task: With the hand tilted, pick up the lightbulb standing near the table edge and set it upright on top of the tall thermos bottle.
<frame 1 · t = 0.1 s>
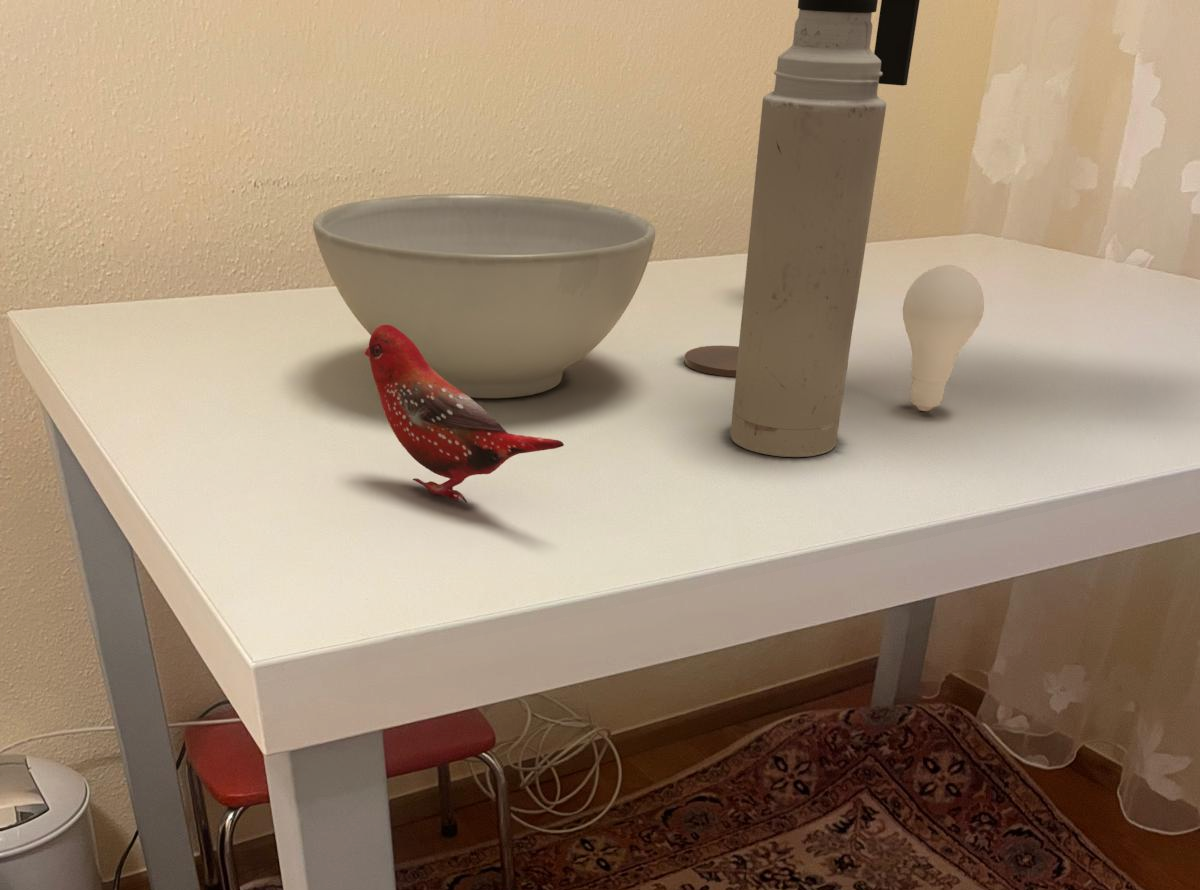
hand: (853, 89, 87), 22 cm above the table, tool pointing down, fingers open, 13 cm apart
water bottle: (800, 305, 127), on the table
walnut coaster: (728, 364, 107), on the table
thermos bottle: (782, 442, 90), on the table
decorative bowl: (489, 379, 101), on the table
lightbulb: (923, 413, 98), on the table
decorative bird figurine: (462, 507, 78), on the table
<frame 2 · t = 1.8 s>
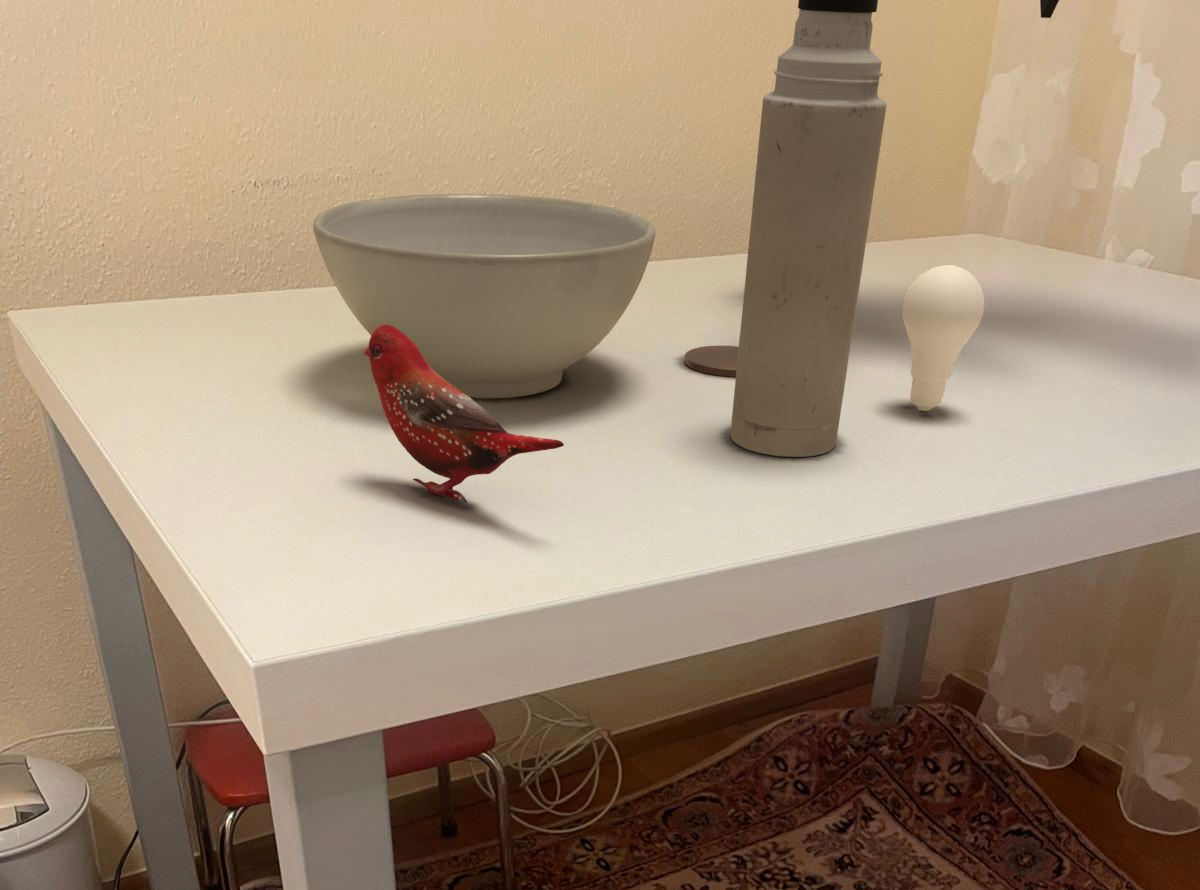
hand: (963, 0, 90), 28 cm above the table, tool tilted 45°, fingers open, 13 cm apart
nothing on the table moved.
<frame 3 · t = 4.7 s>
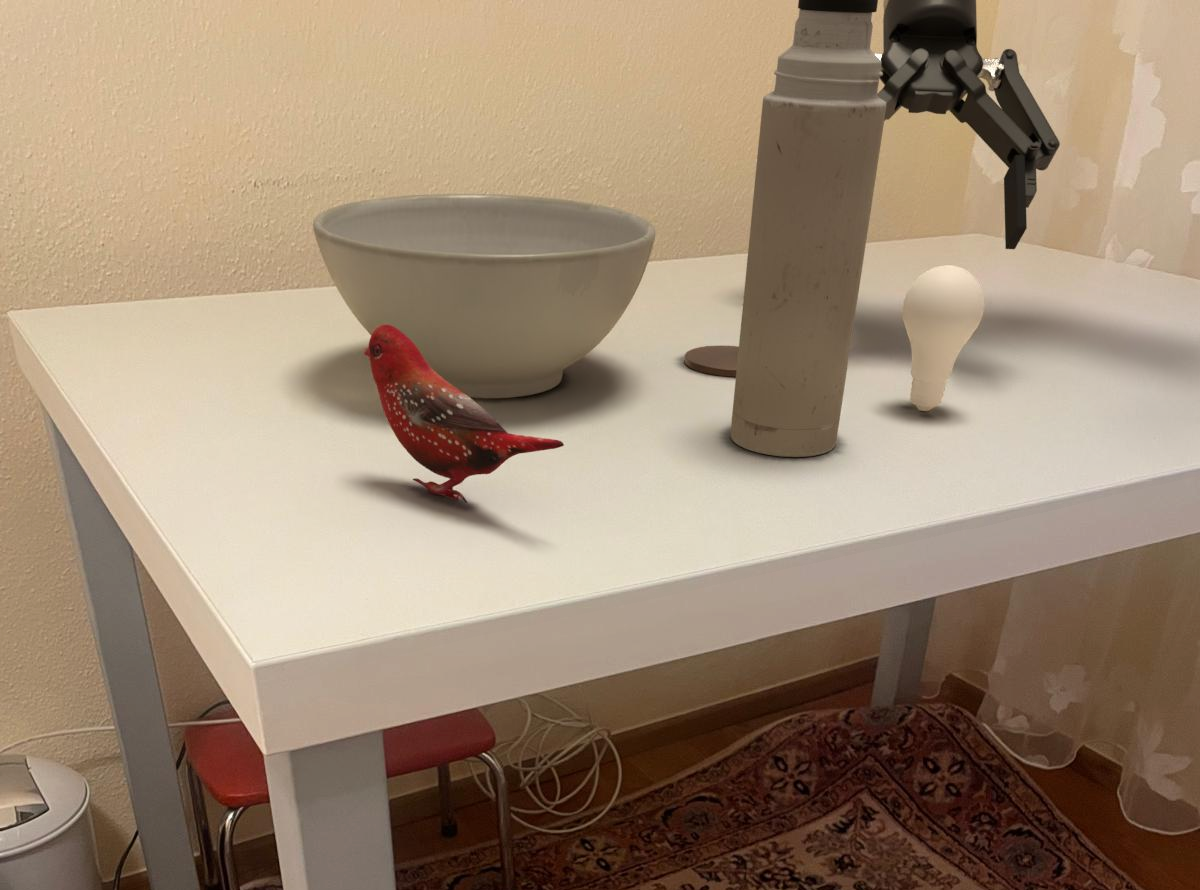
hand: (932, 235, 96), 12 cm above the table, tool tilted 45°, fingers open, 13 cm apart
nothing on the table moved.
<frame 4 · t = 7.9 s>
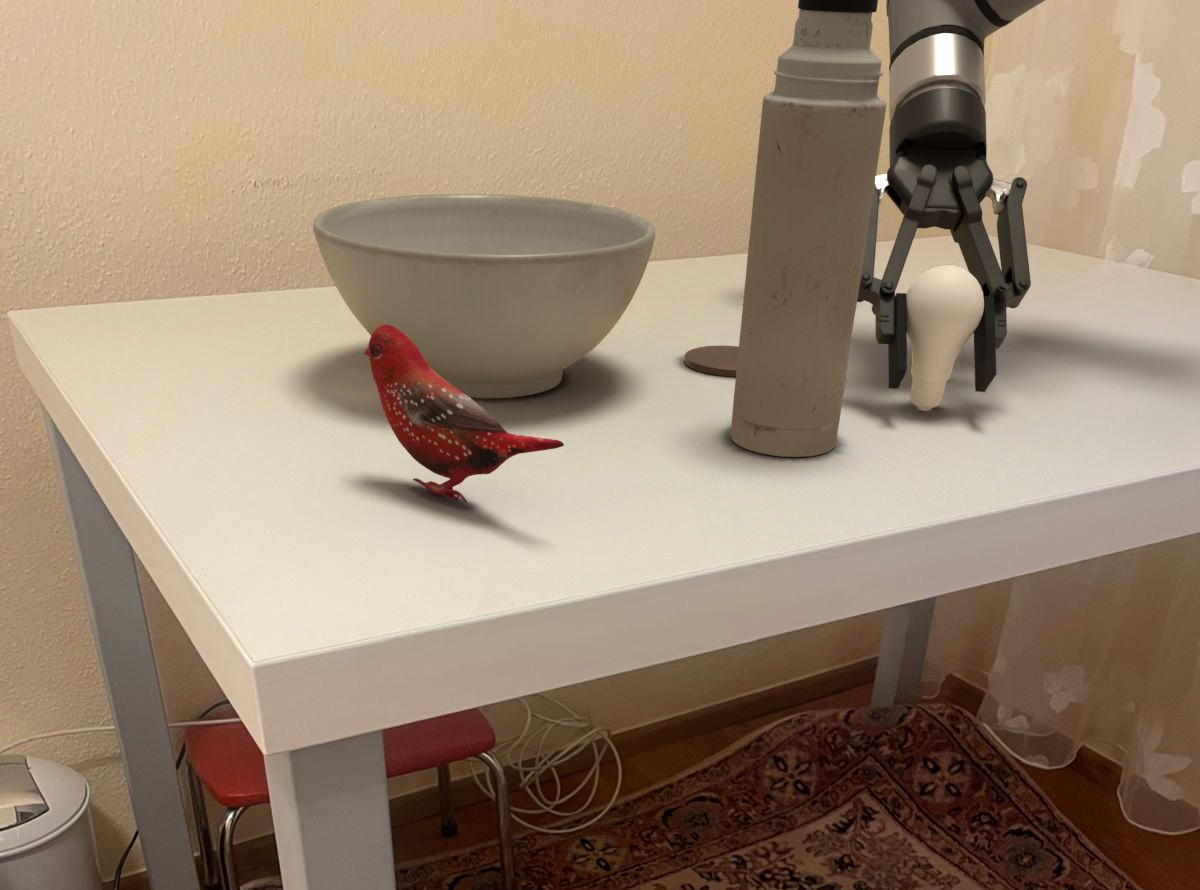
hand: (941, 380, 93), 3 cm above the table, tool tilted 45°, fingers closed on lightbulb, 6 cm apart
lightbulb: (923, 413, 98), on the table, touching gripper
everything else where it was.
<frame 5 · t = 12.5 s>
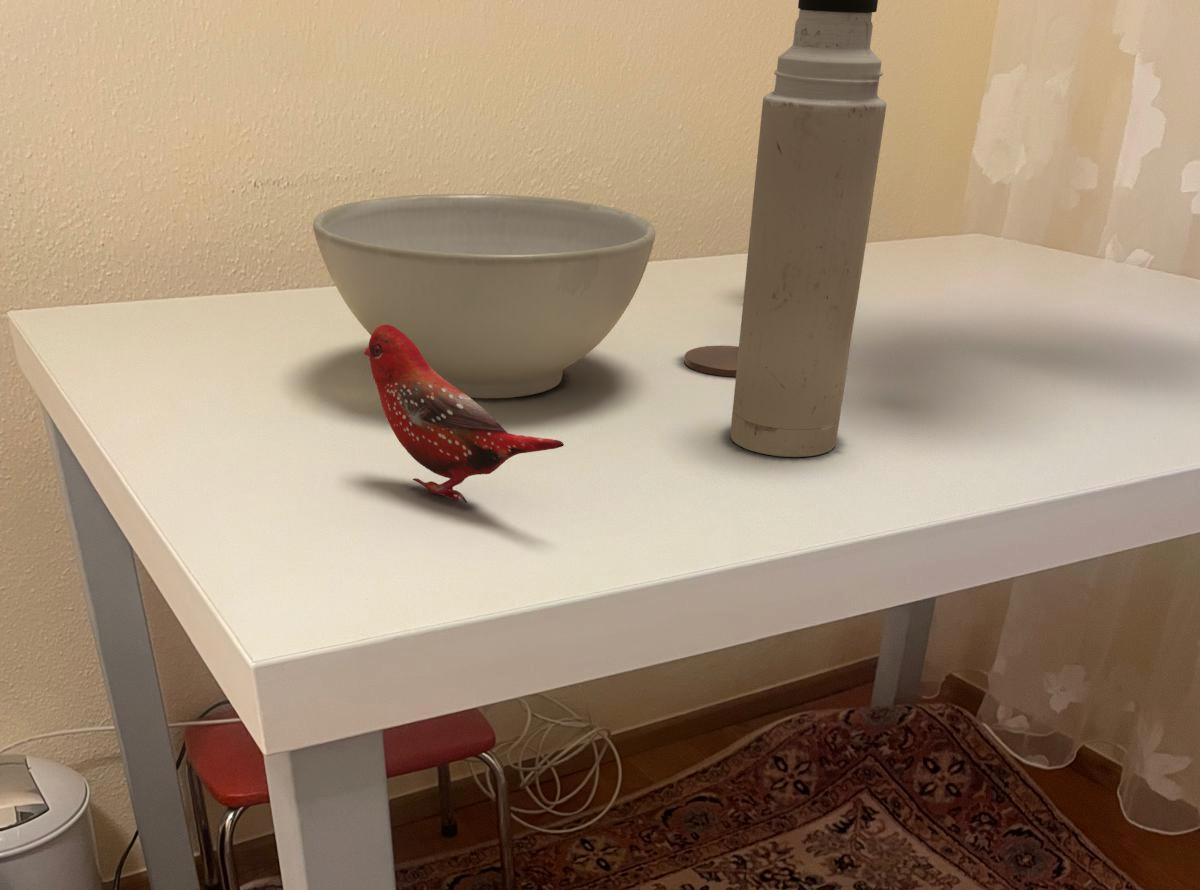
when the fingers open (31 cm above the table, at t = 17.0 s): lightbulb stays where it is, resting on thermos bottle.
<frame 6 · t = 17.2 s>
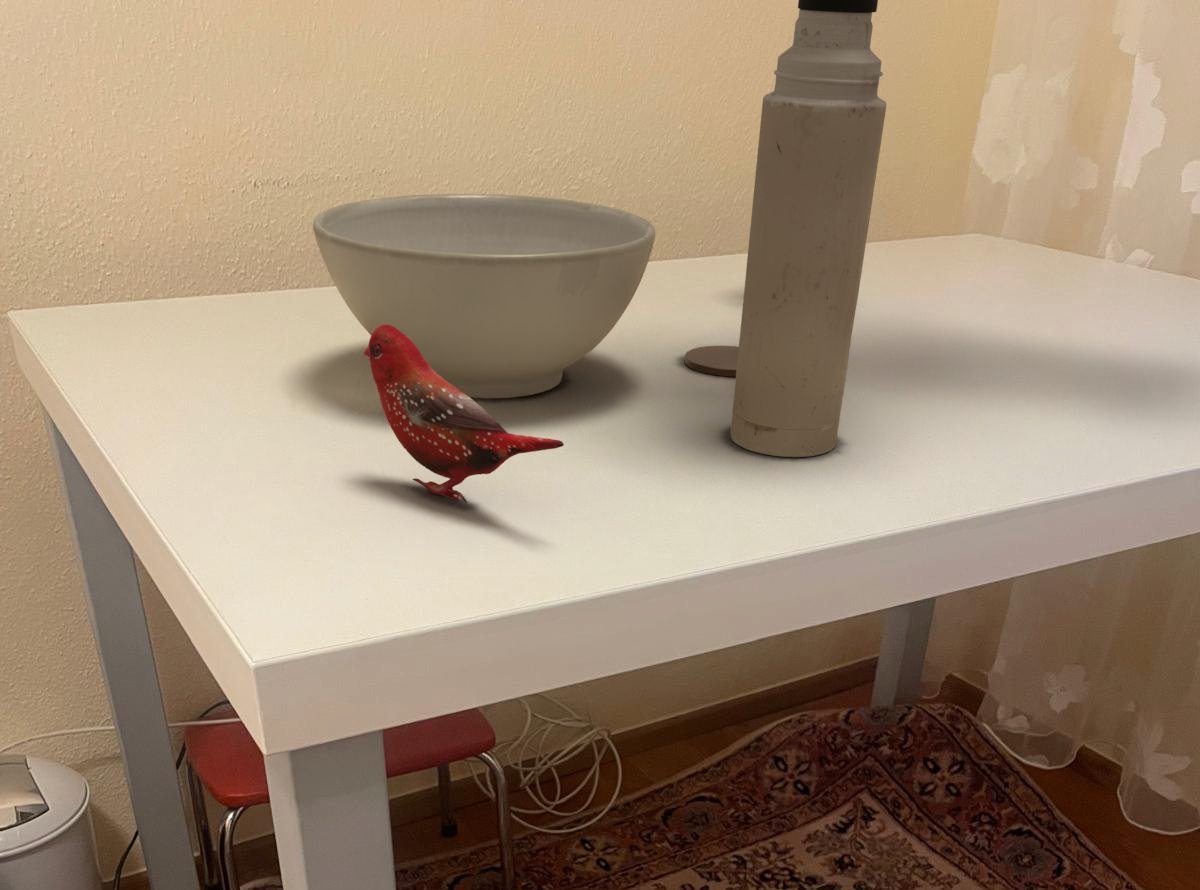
thermos bottle: (782, 442, 90), on the table, touching lightbulb
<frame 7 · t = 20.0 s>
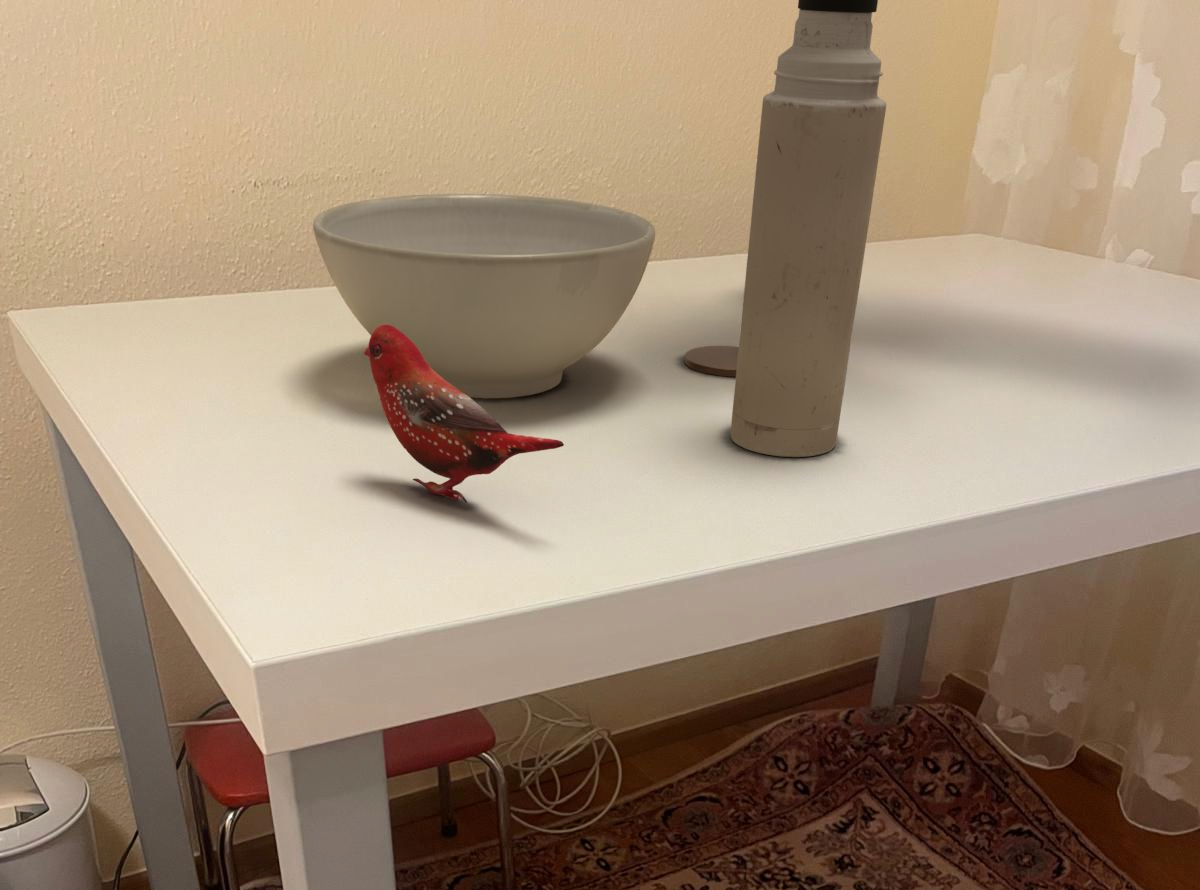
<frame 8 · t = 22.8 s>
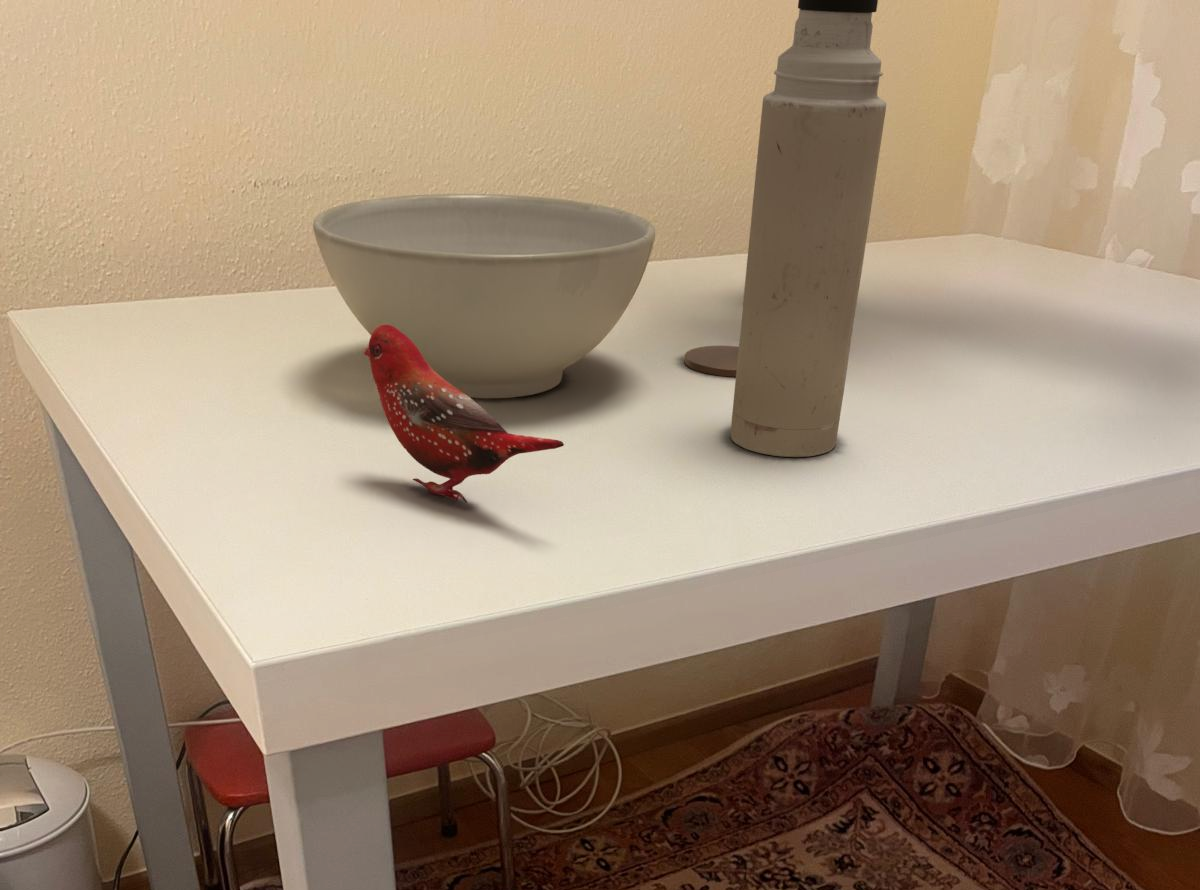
at the end: lightbulb 0.1 cm off-centre on the thermos bottle, point 28.0 cm above the thermos bottle's base; the gripper is holding nothing; thermos bottle tilted 0° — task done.
